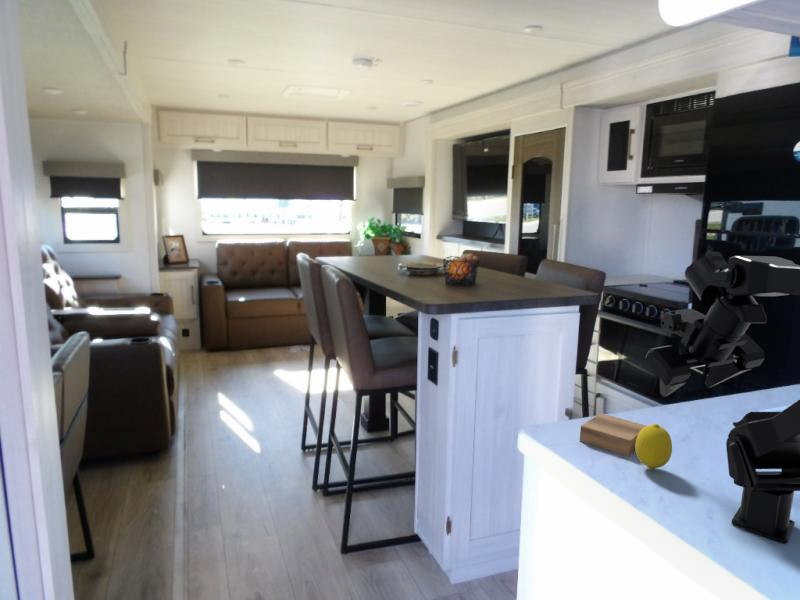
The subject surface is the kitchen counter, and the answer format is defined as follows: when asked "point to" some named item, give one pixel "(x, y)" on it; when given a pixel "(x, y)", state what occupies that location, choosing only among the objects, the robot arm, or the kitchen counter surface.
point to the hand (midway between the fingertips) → (685, 390)
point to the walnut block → (611, 433)
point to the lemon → (653, 446)
